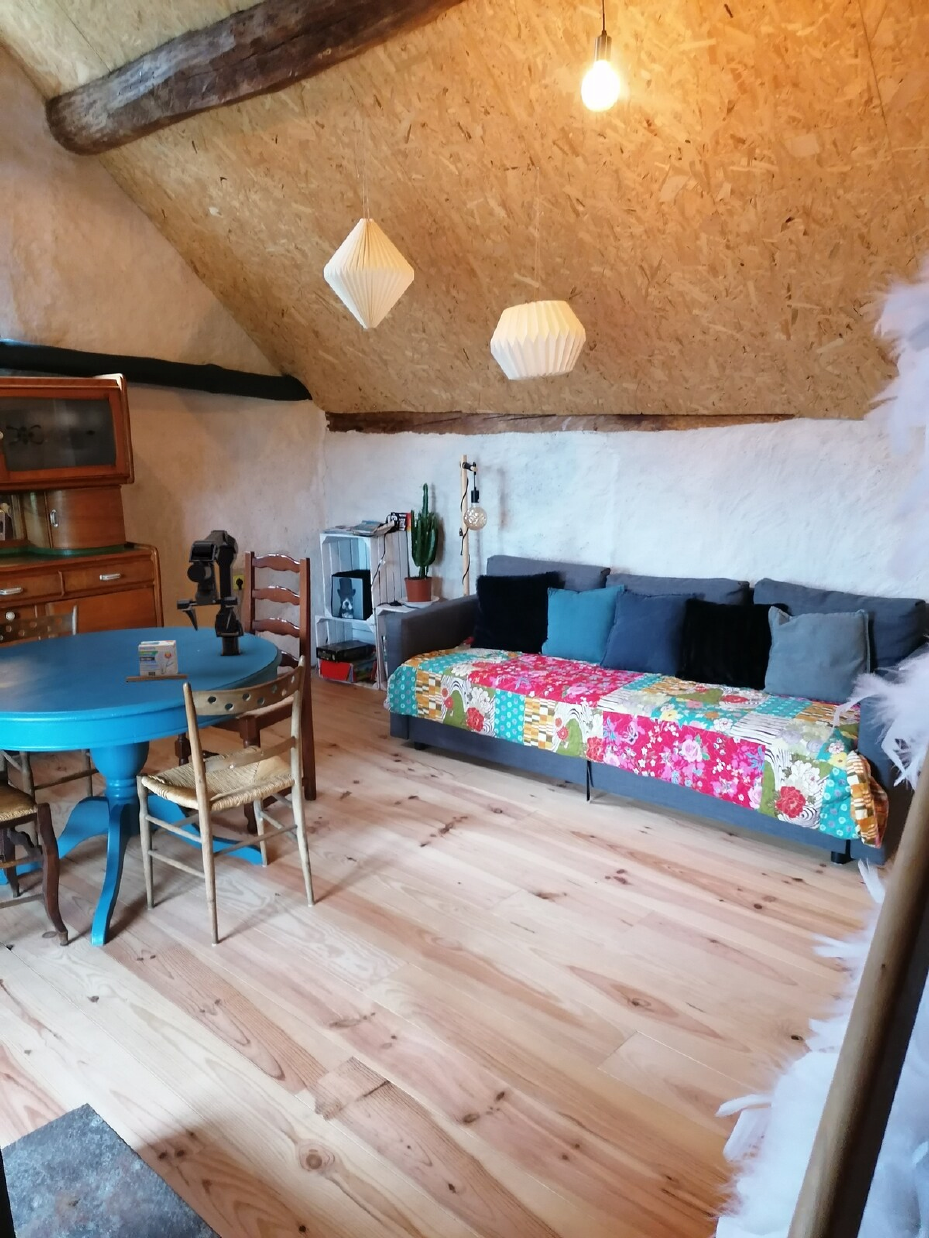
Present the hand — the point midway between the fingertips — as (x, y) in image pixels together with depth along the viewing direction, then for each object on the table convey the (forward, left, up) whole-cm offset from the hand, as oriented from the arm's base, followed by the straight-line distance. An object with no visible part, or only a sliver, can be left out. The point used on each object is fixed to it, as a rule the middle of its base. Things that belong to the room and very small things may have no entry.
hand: (211, 629), depth 263 cm
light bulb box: (-1, -17, -15) cm, 22 cm away
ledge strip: (+4, -17, -14) cm, 23 cm away
